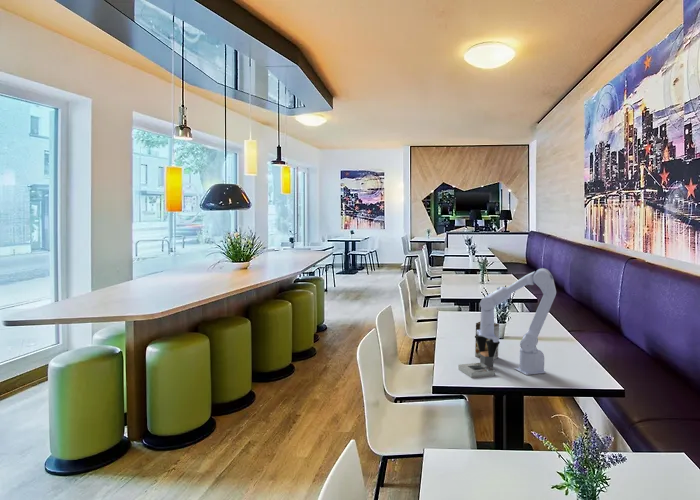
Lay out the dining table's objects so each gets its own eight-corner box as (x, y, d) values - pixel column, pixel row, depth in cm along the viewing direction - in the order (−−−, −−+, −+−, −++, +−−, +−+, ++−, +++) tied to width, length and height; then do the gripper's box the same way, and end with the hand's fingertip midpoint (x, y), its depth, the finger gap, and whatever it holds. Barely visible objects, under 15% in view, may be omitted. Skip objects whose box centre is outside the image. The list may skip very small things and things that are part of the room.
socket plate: (481, 366, 210) (481, 361, 209) (495, 375, 199) (495, 369, 199) (458, 369, 207) (458, 363, 207) (471, 377, 196) (471, 372, 196)
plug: (488, 364, 213) (488, 351, 213) (493, 367, 210) (493, 353, 209) (480, 365, 212) (480, 351, 212) (485, 367, 208) (485, 354, 208)
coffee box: (474, 356, 225) (474, 322, 223) (480, 353, 229) (481, 320, 228) (492, 360, 218) (493, 326, 217) (499, 357, 223) (499, 323, 222)
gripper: (470, 320, 215) (470, 350, 216) (488, 328, 201) (487, 359, 203) (484, 319, 217) (483, 349, 218) (502, 327, 203) (502, 358, 204)
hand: (486, 354), depth 211 cm, fingers open, 7 cm apart
